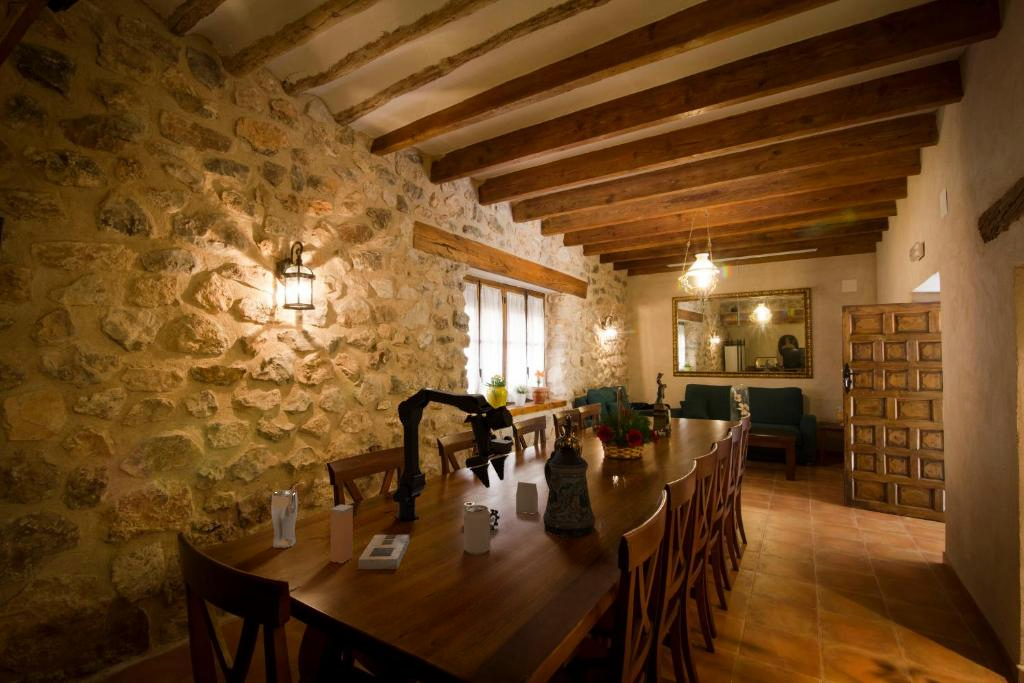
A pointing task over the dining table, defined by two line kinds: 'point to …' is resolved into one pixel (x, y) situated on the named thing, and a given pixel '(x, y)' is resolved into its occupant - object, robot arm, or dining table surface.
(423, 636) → the dining table surface
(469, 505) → the valve
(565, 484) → the beer stein
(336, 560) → the square peg
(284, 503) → the beer glass
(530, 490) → the tea bag
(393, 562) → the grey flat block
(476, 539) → the can
